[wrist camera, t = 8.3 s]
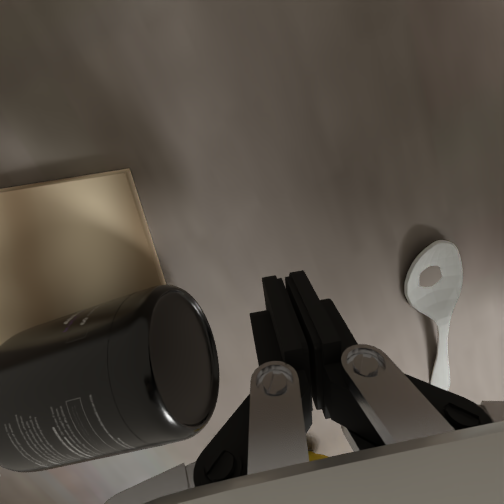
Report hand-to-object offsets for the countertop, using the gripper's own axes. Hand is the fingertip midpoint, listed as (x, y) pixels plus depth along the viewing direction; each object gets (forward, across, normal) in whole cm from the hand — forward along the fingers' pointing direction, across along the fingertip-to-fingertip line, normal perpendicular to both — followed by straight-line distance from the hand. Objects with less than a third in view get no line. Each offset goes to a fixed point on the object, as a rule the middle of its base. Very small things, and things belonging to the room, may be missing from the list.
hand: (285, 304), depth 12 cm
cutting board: (+6, +12, 0) cm, 14 cm away
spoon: (+7, -13, +12) cm, 19 cm away
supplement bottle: (+1, +4, +2) cm, 5 cm away
